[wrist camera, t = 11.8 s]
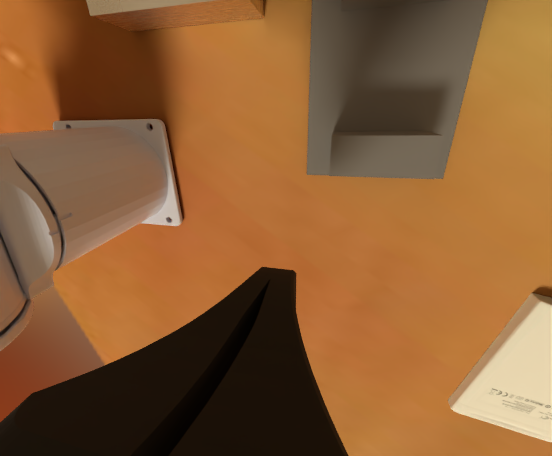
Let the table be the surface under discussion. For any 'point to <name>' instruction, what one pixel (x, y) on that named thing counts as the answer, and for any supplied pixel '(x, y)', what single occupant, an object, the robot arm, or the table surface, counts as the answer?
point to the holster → (388, 84)
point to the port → (172, 12)
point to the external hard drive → (514, 375)
